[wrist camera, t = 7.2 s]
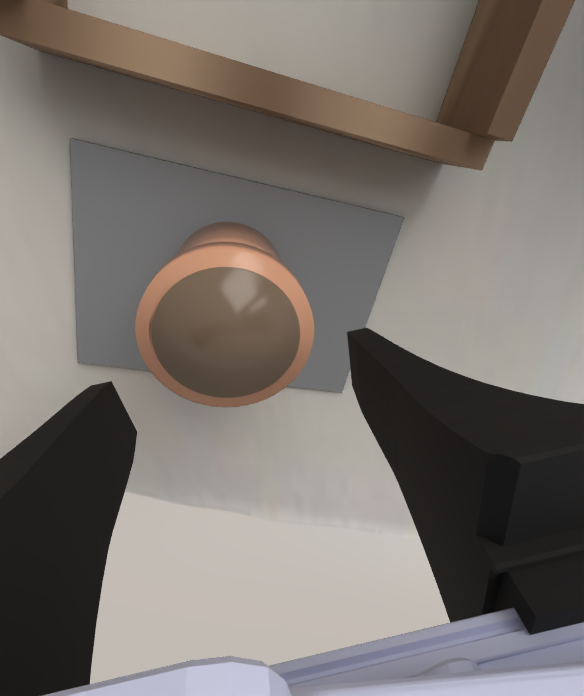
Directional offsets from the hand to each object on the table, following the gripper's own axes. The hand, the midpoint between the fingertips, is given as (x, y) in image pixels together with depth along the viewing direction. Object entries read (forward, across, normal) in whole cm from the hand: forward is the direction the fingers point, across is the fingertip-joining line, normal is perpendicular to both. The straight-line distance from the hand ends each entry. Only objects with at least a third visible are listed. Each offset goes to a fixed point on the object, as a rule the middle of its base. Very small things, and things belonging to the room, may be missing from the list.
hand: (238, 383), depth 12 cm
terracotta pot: (+8, 0, -1) cm, 8 cm away
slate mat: (+8, 0, 0) cm, 8 cm away
